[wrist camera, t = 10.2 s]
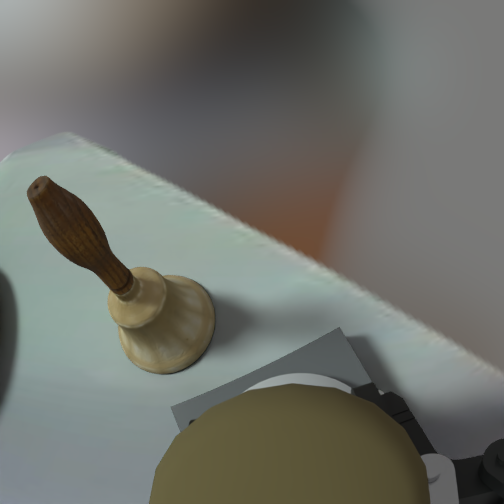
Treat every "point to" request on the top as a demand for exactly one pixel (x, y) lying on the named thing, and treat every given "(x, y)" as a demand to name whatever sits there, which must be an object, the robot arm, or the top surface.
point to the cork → (292, 453)
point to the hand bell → (129, 286)
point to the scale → (288, 375)
